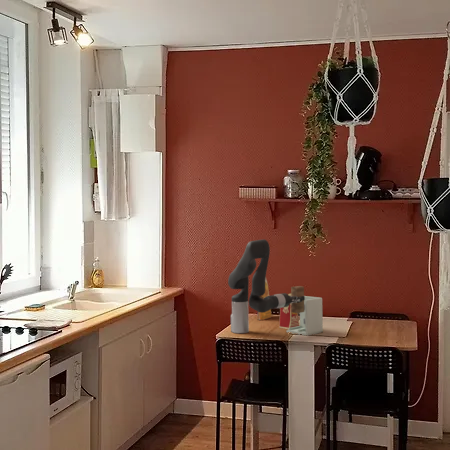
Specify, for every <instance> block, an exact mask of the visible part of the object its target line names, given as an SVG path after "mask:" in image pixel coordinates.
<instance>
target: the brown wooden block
mask: <svg viewBox="0 0 450 450" xmlns="http://www.w3.org/2000/svg"><path fill="white" fill-rule="evenodd" d="M290 289H291V291H290V293H291V296H297V297H299V296H300V297H301V296H305V286H302V285H298V286H291V287H290ZM291 309H292V313H298V314H300V313H301V312H304V300H302V302H299V303H297V302H296V303H291Z"/></svg>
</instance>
